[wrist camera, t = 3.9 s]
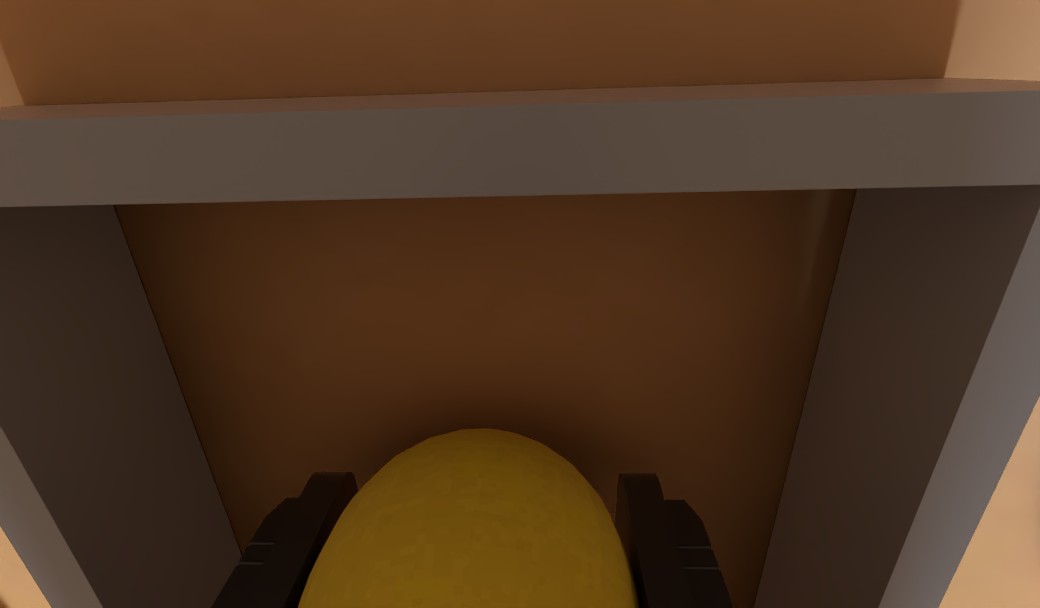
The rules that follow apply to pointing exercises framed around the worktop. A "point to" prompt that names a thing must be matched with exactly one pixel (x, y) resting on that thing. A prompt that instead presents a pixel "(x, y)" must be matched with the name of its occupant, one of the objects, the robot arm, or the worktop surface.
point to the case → (525, 172)
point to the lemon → (474, 533)
